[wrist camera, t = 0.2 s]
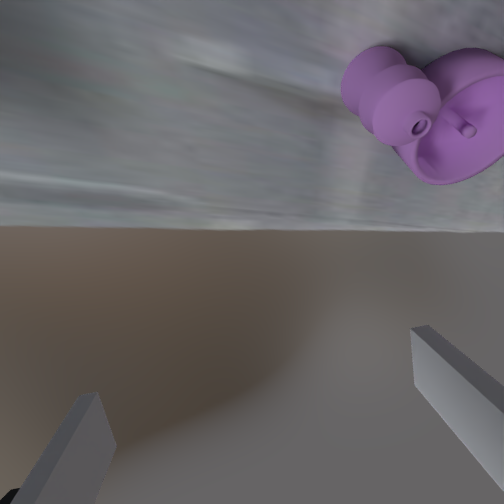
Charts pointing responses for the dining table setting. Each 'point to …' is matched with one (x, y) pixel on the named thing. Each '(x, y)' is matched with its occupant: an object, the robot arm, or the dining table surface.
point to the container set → (432, 109)
